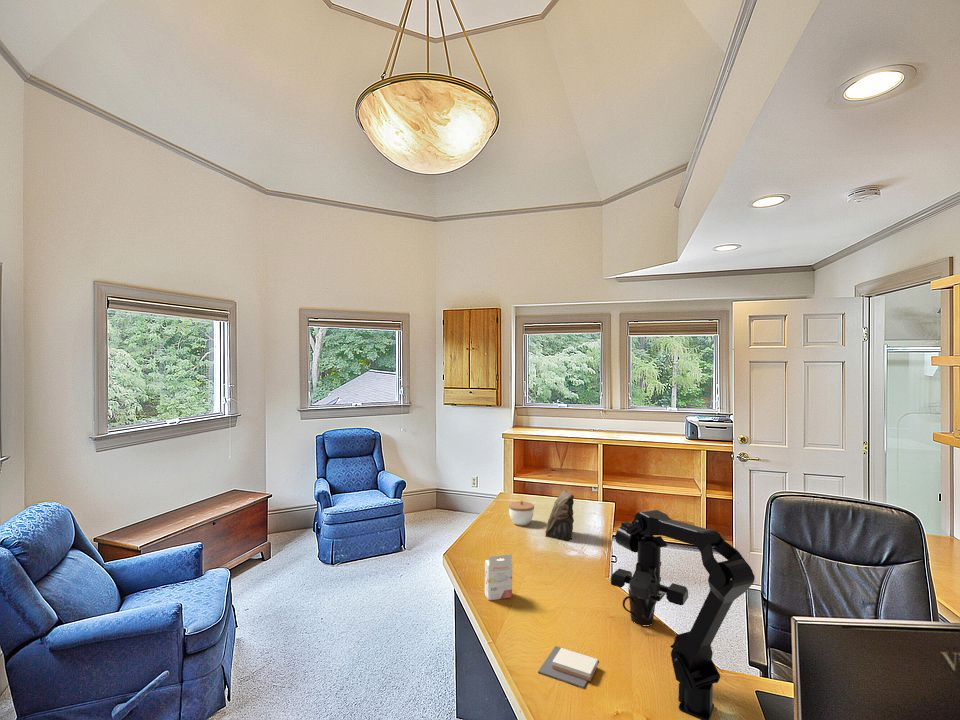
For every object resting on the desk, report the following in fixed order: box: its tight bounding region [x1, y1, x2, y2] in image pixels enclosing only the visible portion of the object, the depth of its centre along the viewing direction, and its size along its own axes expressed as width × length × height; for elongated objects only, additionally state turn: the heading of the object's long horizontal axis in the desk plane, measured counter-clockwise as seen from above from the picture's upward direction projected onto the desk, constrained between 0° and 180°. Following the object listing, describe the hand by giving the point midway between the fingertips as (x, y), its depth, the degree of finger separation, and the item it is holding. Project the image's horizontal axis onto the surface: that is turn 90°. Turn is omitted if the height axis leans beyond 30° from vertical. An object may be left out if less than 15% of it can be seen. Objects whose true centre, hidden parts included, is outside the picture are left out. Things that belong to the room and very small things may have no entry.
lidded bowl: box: [508, 500, 535, 526], centre depth 243 cm, size 13×13×11 cm
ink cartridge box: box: [484, 553, 513, 601], centre depth 166 cm, size 9×5×15 cm, turn 105°
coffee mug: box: [622, 584, 656, 626], centre depth 152 cm, size 12×9×10 cm
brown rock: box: [544, 489, 575, 542], centre depth 225 cm, size 13×13×20 cm
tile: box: [552, 647, 599, 682], centre depth 127 cm, size 2×7×10 cm
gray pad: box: [537, 645, 597, 689], centre depth 128 cm, size 12×13×1 cm
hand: (647, 618), depth 128 cm, fingers closed
